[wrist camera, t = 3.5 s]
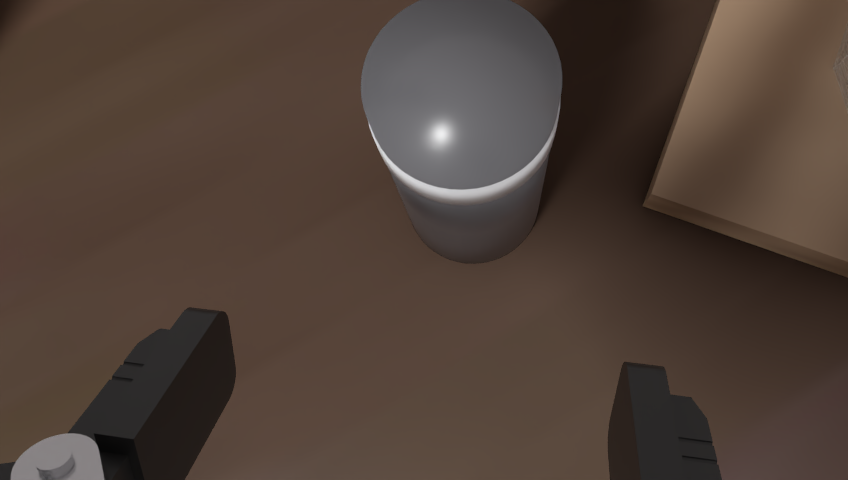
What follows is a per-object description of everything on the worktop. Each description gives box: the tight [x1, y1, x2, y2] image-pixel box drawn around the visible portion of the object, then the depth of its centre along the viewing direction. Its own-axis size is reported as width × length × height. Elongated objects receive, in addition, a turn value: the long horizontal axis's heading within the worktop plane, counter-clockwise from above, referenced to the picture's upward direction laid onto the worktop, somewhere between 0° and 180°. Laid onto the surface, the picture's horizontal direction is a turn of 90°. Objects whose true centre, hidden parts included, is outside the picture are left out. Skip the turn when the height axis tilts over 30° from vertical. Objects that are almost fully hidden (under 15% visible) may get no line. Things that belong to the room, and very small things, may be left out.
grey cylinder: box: [361, 0, 562, 264], centre depth 23 cm, size 5×5×10 cm
